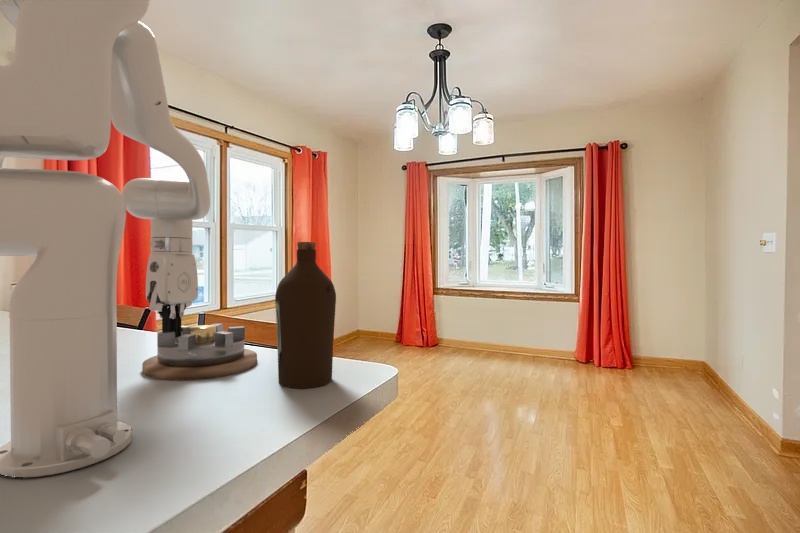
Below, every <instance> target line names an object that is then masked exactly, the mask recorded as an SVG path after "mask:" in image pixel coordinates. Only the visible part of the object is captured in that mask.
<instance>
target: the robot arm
mask: <svg viewBox="0 0 800 533" xmlns="http://www.w3.org/2000/svg"><path fill="white" fill-rule="evenodd" d="M150 2H151V0H0V13H1V14H2V16H3V17H4V18H5V19H6V20H7V21H8V22H9V23H10V24H11V25H12V26H13V27H14V29H15V42H14V56H13V59H12V61H11V62H10V63H9V64H6V65H0V257H29V258H30V257H31V258H36V259H35V260H34V261H33V263H32V264H31V265H30V266H29V268H28V269H27V270H26V271H25V272H24V274H22V276H21V277H20V278H19V280H18V281H17V283H16V284H15V285H14V287H13V290H12V293H11V295H10V297H9V298H10V299H9V304H8V305H9V306H8V308H9V309H8V310H9V311H8V313H9V314H8V315H9V378H10V379H9V380H10V382H9V383H10V384H9V385H10V388H9V390H10V391H9V392H10V396H9V397H10V441H9V442H6V443H5V444H3V445H1V446H0V474H1V475H7V476H13V477H12V478H15V477H23V478H25V479H26V478H37V477H46V476H51V475H57V474H62V473H67V472H70V471H74V470H80V469H83V468H86V467H88V466H91V465H94V464H97V463H100V462H102V461H104V460H106V459H108V458H111V457H113V456H114V455H115V456H116V454H118V453H120V452H121V451H123V450H124V449H125V448H126V447H128V445H130V443H131V442H132V440H133V428H132V426H130V425H129V424H127V423H125V422H122V421H119V420H118V373H117V372H118V351H117V350H118V347H117V345H118V344H117V342H118V341H117V340H118V339H117V336H118V334H117V333H118V332H117V330H118V328H117V325H118V324H117V323H118V322H117V320H118V319H117V318H118V317H117V316H118V315H117V313H118V312H117V311H118V310H117V307H118V306H117V299H118V296H117V293H118V292H117V290H118V289H117V288H118V286H117V285H118V269H119V261H120V253H121V247H122V242H123V238H124V232H125V228H126V220H127V212H128V213H129V214H130V215H131V216H133V217H134V218H139V219H143V220H150V242H149V246H150V254H149V255H148V262H147V265H146V266H147V268H146V276H145V299H146V301H147V303H149V310H150V311H151V312H157V313H158V316H159V318H160V319H161V321H162V322H161V326H162V327H161V330H162V331H161V332H166V331H175V338H177V337H180V336H181V325H182V318H183V317H184V314H185V310H186V309H187V308H189V307H190V306H192V305H193V302H195V301H196V300H197V299H198V297H199V278H198V268H197V267H198V266H197V262H196V261H197V260H196V258H195V255H194V254H193V221H197V220H201V219H204V218H205V217H206V216H207V215H208V213H209V212H210V210H211V209H210V208H211V194H210V187H209V181H208V172H207V169H206V168H207V167H206V165H205V162H204V160H203V157H202V156H201V155H200V153H199V151H198V149H197V148H196V147H195V146H194V144H193V143H192V142H191V141H190V139H188V138H187V136H185V135H184V134H183V133H182V132H181V131H180V130H179V129H178V128H177V127H176V126H175V125H174V123H173V122H172V119H171V114H170V110H169V104H168V97H167V93H166V88H165V83H164V76H163V71H162V66H161V63H160V62H161V60H160V56H159V49H158V48H159V47H158V44H157V41H156V37H155V35H154V34H153V32H152V31H151V29H150V28H149V27H148V26H147V25H146V24H144V23H142V22H141V20H142V19H143V18H144V16H145V15H146V13H147V12H148V9H149V6H150ZM112 125H113V127H114V128H115V129H116V131H117V132H118V133H120V134H121V135H123V136H125V137H127V138H130V139H132V140H134V141H136V142H138V143H140V144H142V145H145V146H147V147H149V148H151V149H153V150H155V151H157V152H159V153H162V154H164V155H165V156H167V157H169V158H170V159H172V160H173V161H174V162H176V163H177V164H178V165H179V166H180V168H181V169H182V170H183V171H184V172H185V174H186V177H187V179H184V178H183V179H180V178H179V179H178V178H153V177H152V178H151V177H148V178H147V177H139V178H134V179H131V180H129V181H127V183H125V185H124V186H123V189H122V190H121V191H120V189H118V188H117V187H116V186H115V185H114V184H113V183H111V181H108V180H106V179H105V178H103V177H101V176H98V175H95V174H92V173H85V172H81V171H74V170H73V171H71V170H58V169H57V170H56V169H36V168H35V169H34V168H9V167H8V168H4V167H3V164H4V161H5V159H6V158H13V159H14V158H17V159H33V160H54V161H56V160H57V161H58V160H59V161H85V160H87V161H88V160H92V159H96V158H99V157H101V156H102V155H103V154H105V153H106V151H107V149H108V147H109V144H110V141H111V132H112ZM1 475H0V476H1ZM14 476H15V477H14ZM23 478H22V479H23Z"/></svg>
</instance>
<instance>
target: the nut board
mask: <svg viewBox="0 0 800 533" xmlns="http://www.w3.org/2000/svg"><path fill="white" fill-rule="evenodd" d="M257 363H258V354H257V352H256V351H254V350H251V349H247V348H244V356H243V357H241V358H239V359H237V360H234V361H230V362H226V363H221V364H215V365H207V366H193V367H177V366H167V365H163V364H160V363H158V361H157V355H153V356H151V357H149V358H147V359H145V360H144V361H143V362H142V363H141V364H142V366H141V367H142V368H141V369H142V370H141V371H142V374H143V375H144V376H145V377H147V378H151V379H154V380H155V379H156V380H162V381H163V380H164V381H192V380H193V381H195V380H207V379H214V378H221V377H226V376H231V375H235V374H238V373H242V372H245V371H247V370H250V369H252V368H253V367H255V366H256V365H257Z"/></svg>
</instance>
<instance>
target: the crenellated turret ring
mask: <svg viewBox="0 0 800 533" xmlns="http://www.w3.org/2000/svg"><path fill="white" fill-rule="evenodd" d="M227 327H228V328H227V331H225V330H224V324H223V323H218V322H217V323H212V324H209V325H208V324H205V325H204V324H202V325H194V326H189V325H188V326H187V325H182V324H181V336H180V337H177V338H175V331H166V332H162V331H157V332H156V333H157V334H156V335H157V336H156V337H157V338H156V339H157V341H156V342H157V343H156V344H157V345H156V346H157V347H156V348H157V349H156V350H157V353H156V354H157V355H156V356H157V361H158V363H160V364H163V365H167V366H177V367H193V366H207V365H215V364H221V363H226V362H230V361H234V360H237V359H239V358H241V357H243V356H244V349H245V340H246V338H245V336H246V335H245V332H246V330H245V329H246V328H245V326H244V325H241V326H239V325H238V326H227Z"/></svg>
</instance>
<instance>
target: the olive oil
mask: <svg viewBox="0 0 800 533" xmlns="http://www.w3.org/2000/svg"><path fill="white" fill-rule="evenodd" d="M296 245H297V249H296V263H295V265H294V266H293V267H292V268H291V269H290V270H289V271H288V272H287V274H285V275H284V276H283V277H282V279H281V280H280V281H279V283H278V285H277V287H276V290H275V291H276V292H275V298H274V301H275V303H274V305H275V320H276V321H275V322H276V344H277V345H276V346H277V366H278V367H277V371H278V374H277V376H278V384H280V385H281V386H282V387H285V388H290V389H312V388H319V387H323V386H326V385H328V384H329V383H331V382H332V380H333V379H332V378H333V358H334V357H333V356H334V352H333V351H334V341H335V340H334V339H335V338H334V337H335V322H336V321H335V318H336V306H337V305H336V304H337V293H336V289H335V285H334V283H333V282H332V280H331V279H330V278H329V276H328V275H327V274H326V273H325V272H324V271H323V270H322V269H321V267H320V266H319V265H318V264H317V261H316V260H317V259H316V258H317V250H316V242H314V241H298V242H297V244H296Z"/></svg>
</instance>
